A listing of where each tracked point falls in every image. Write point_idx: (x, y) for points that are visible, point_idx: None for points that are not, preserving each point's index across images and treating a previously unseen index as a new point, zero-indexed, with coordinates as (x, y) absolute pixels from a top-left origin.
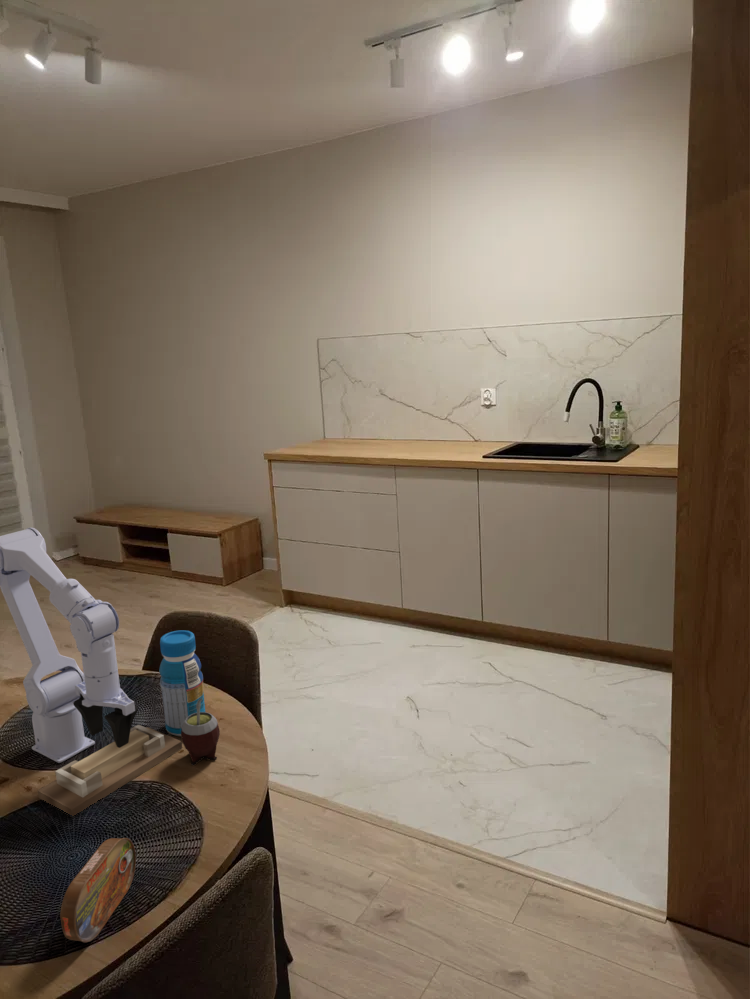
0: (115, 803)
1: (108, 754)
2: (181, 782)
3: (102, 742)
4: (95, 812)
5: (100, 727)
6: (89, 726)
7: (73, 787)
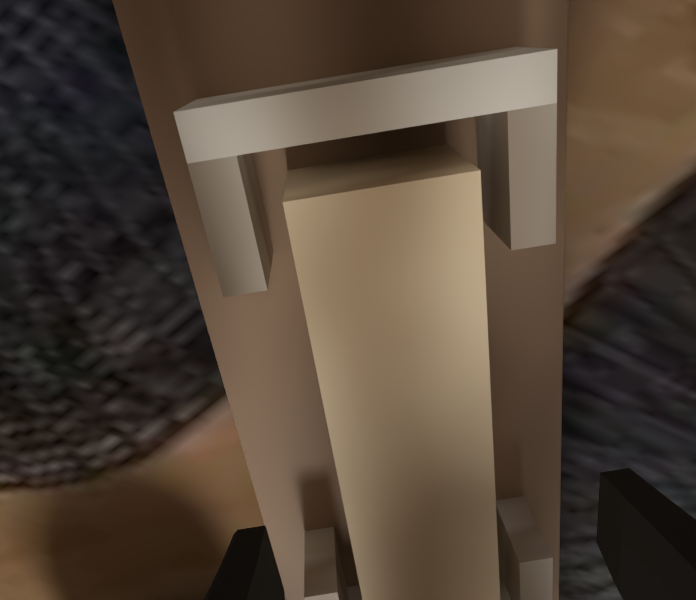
0: (85, 238)
1: (378, 427)
2: (38, 527)
3: (692, 437)
4: (75, 110)
5: (615, 562)
6: (662, 538)
7: (298, 86)
